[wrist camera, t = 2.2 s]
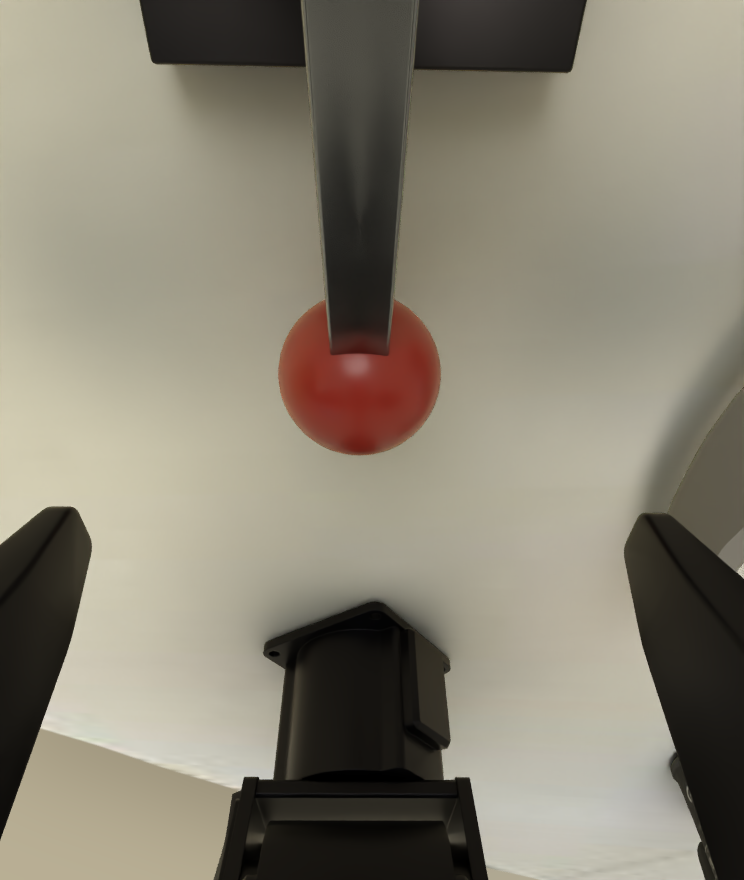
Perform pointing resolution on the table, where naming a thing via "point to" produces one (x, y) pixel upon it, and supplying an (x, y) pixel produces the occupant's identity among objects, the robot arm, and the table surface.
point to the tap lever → (359, 236)
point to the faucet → (717, 488)
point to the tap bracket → (437, 42)
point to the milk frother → (702, 847)
